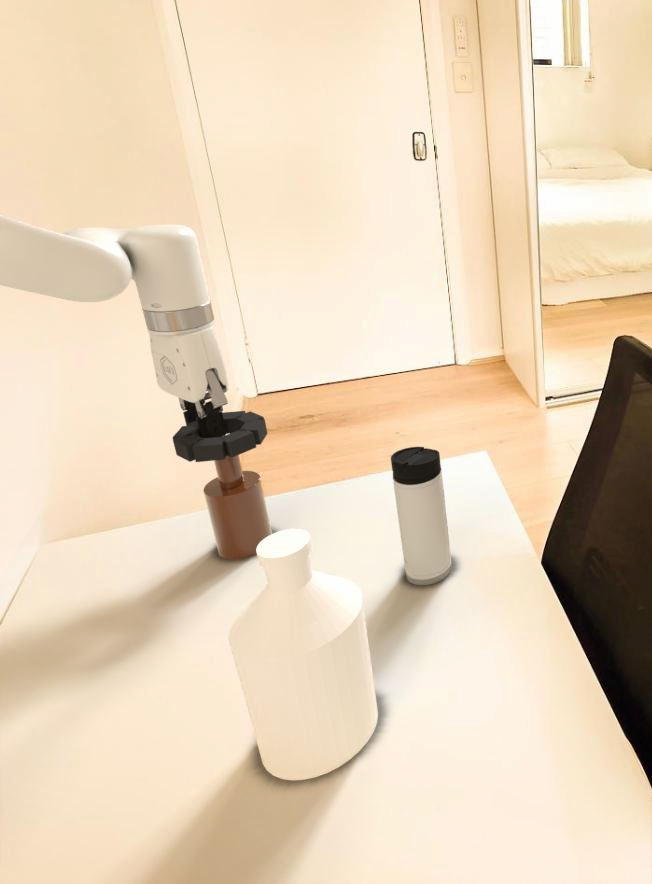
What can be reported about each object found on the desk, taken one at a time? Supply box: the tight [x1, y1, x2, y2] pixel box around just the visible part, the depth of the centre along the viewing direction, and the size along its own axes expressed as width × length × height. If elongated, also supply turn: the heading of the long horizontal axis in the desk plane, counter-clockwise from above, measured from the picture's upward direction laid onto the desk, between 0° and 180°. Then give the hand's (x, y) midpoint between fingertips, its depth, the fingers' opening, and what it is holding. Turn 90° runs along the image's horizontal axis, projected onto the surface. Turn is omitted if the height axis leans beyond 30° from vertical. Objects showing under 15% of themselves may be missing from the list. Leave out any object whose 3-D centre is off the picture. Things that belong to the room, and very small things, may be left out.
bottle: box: [228, 528, 379, 781], centre depth 71 cm, size 12×12×25 cm
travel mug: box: [390, 446, 453, 586], centre depth 97 cm, size 6×7×20 cm
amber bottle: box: [203, 454, 273, 561], centre depth 101 cm, size 7×7×17 cm
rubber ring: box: [171, 410, 268, 463], centre depth 98 cm, size 10×10×2 cm
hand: (208, 434), depth 100 cm, fingers closed on rubber ring, 2 cm apart
